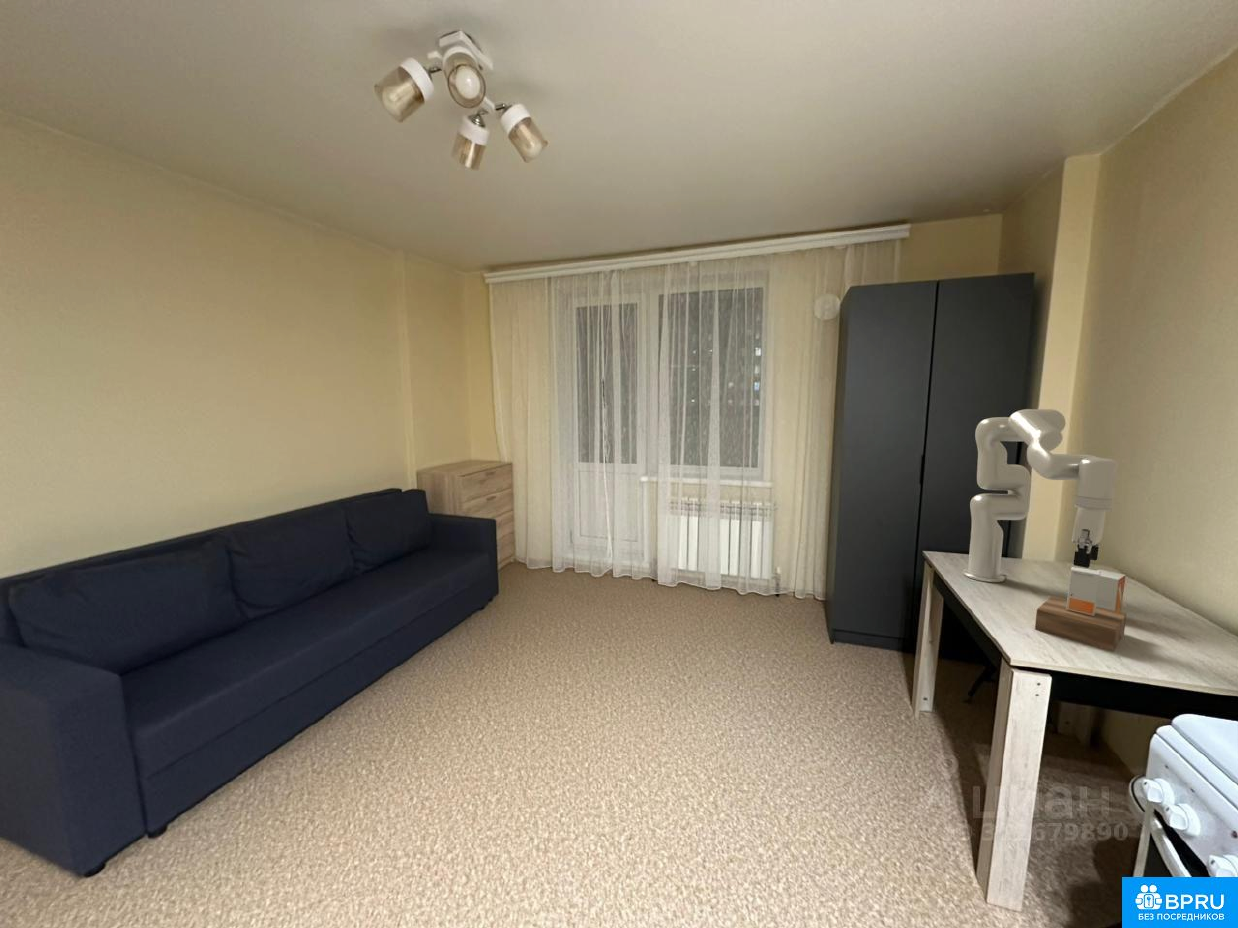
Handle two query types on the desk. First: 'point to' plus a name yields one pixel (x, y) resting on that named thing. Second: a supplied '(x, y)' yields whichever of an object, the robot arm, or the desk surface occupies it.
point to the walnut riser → (1081, 624)
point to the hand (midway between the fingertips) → (1085, 562)
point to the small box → (1110, 590)
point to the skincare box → (1083, 590)
